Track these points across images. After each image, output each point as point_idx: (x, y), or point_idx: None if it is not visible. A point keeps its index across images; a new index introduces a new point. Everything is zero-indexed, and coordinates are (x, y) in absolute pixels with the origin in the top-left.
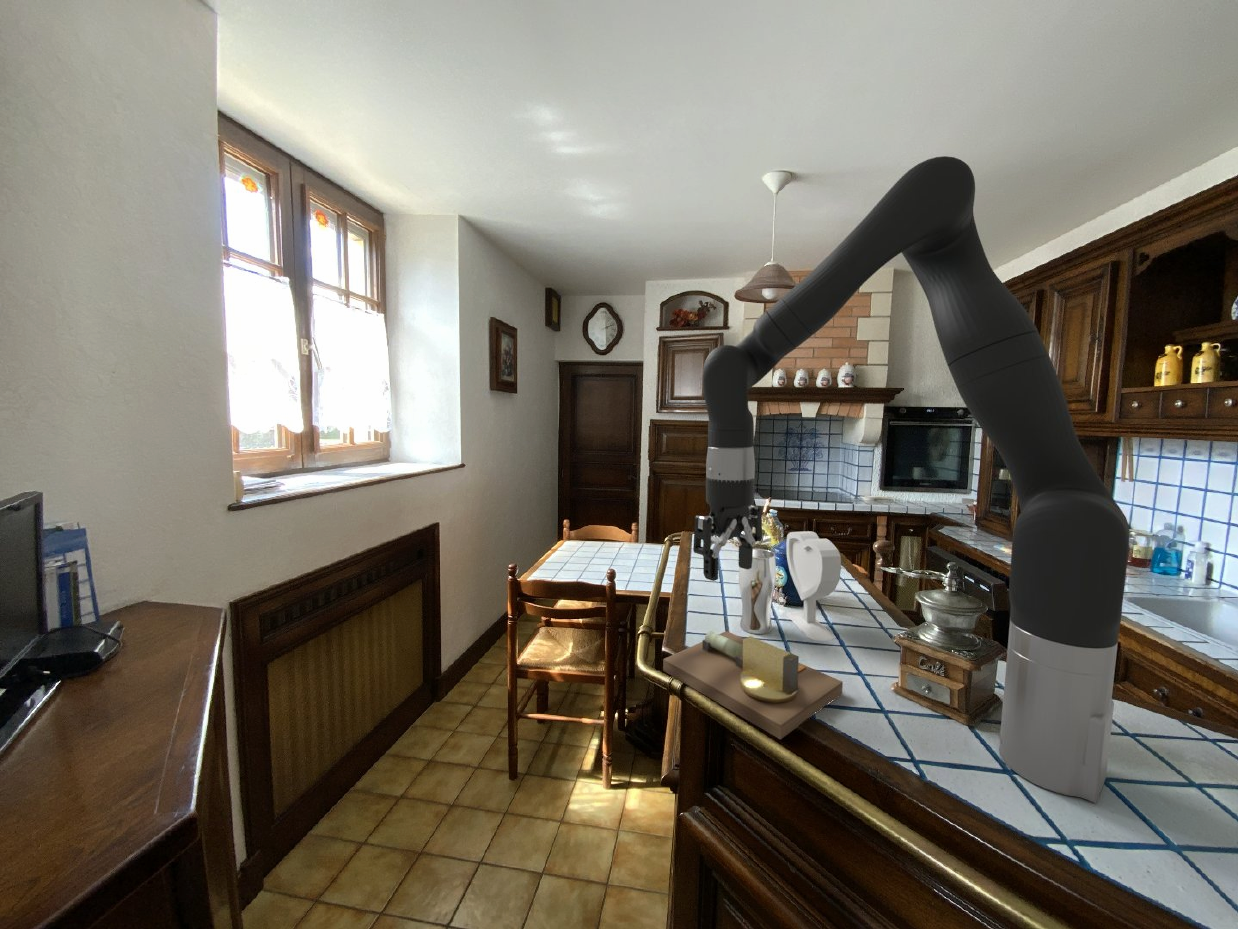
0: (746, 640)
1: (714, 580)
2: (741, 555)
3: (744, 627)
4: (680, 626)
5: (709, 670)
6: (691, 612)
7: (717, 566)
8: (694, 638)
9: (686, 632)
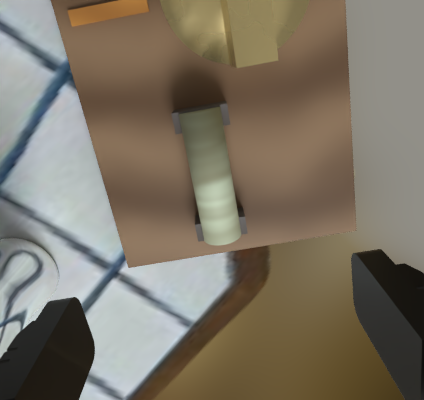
0: (273, 48)
1: (376, 250)
2: (68, 393)
3: (55, 277)
4: (184, 352)
5: (300, 135)
6: (118, 392)
7: (397, 294)
8: (191, 297)
9: (190, 326)
